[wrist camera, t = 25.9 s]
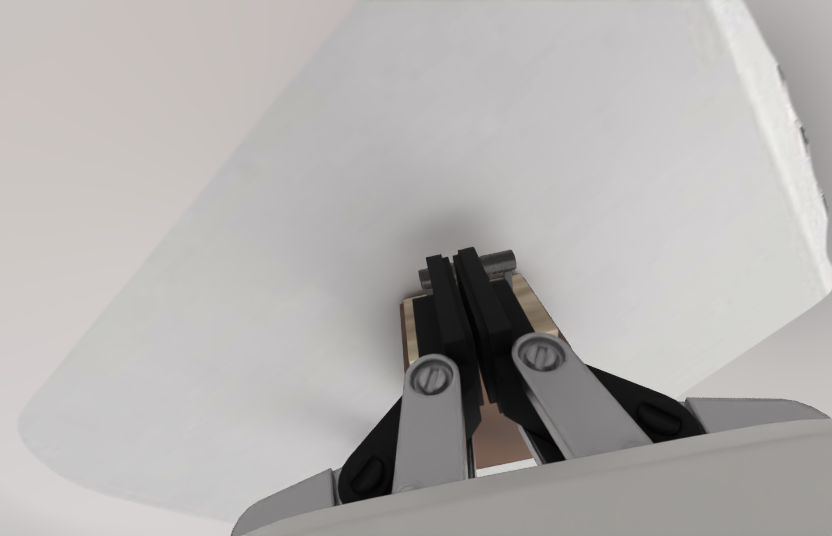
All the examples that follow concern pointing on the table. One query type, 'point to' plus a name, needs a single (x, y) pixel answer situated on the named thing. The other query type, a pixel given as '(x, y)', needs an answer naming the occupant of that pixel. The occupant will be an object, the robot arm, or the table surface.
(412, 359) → the drawer
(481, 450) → the cabinet
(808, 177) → the table surface
